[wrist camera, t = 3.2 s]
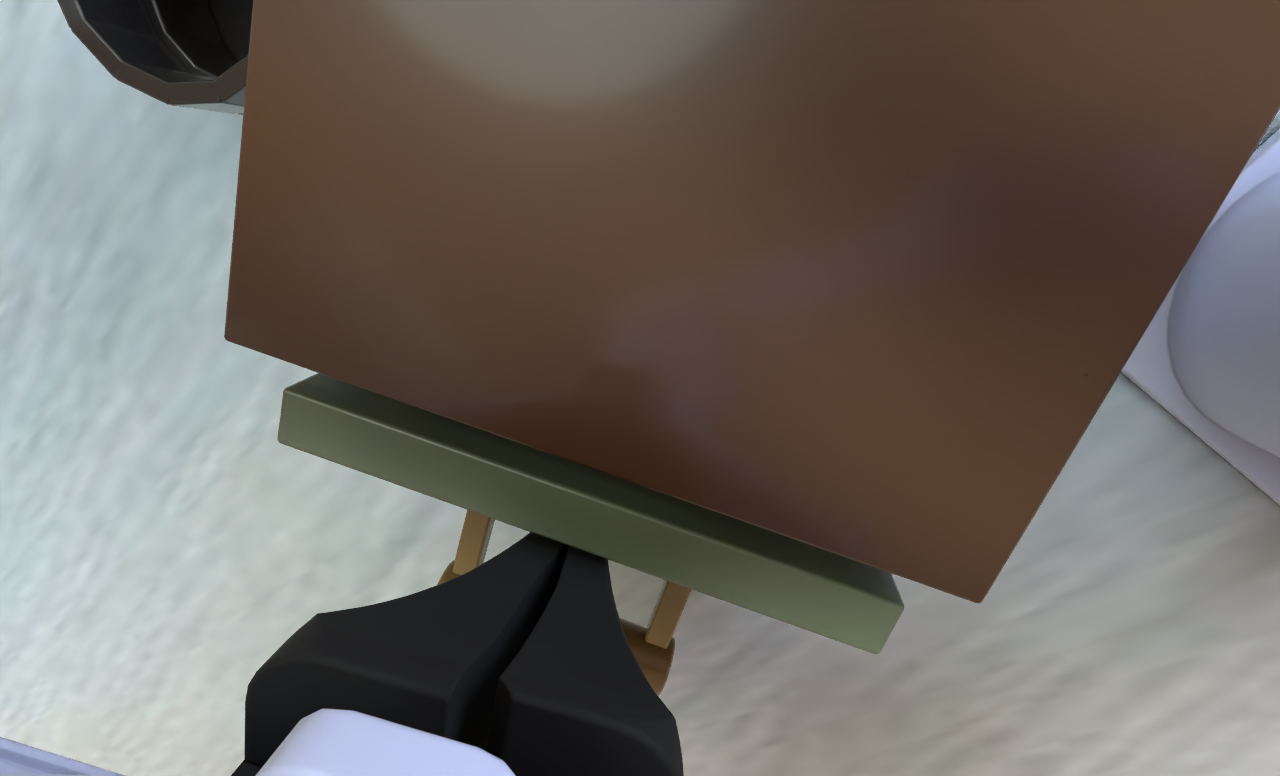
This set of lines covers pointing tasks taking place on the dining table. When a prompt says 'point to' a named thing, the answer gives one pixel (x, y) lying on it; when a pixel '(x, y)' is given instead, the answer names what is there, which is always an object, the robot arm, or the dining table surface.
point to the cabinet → (748, 235)
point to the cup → (170, 47)
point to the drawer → (592, 520)
